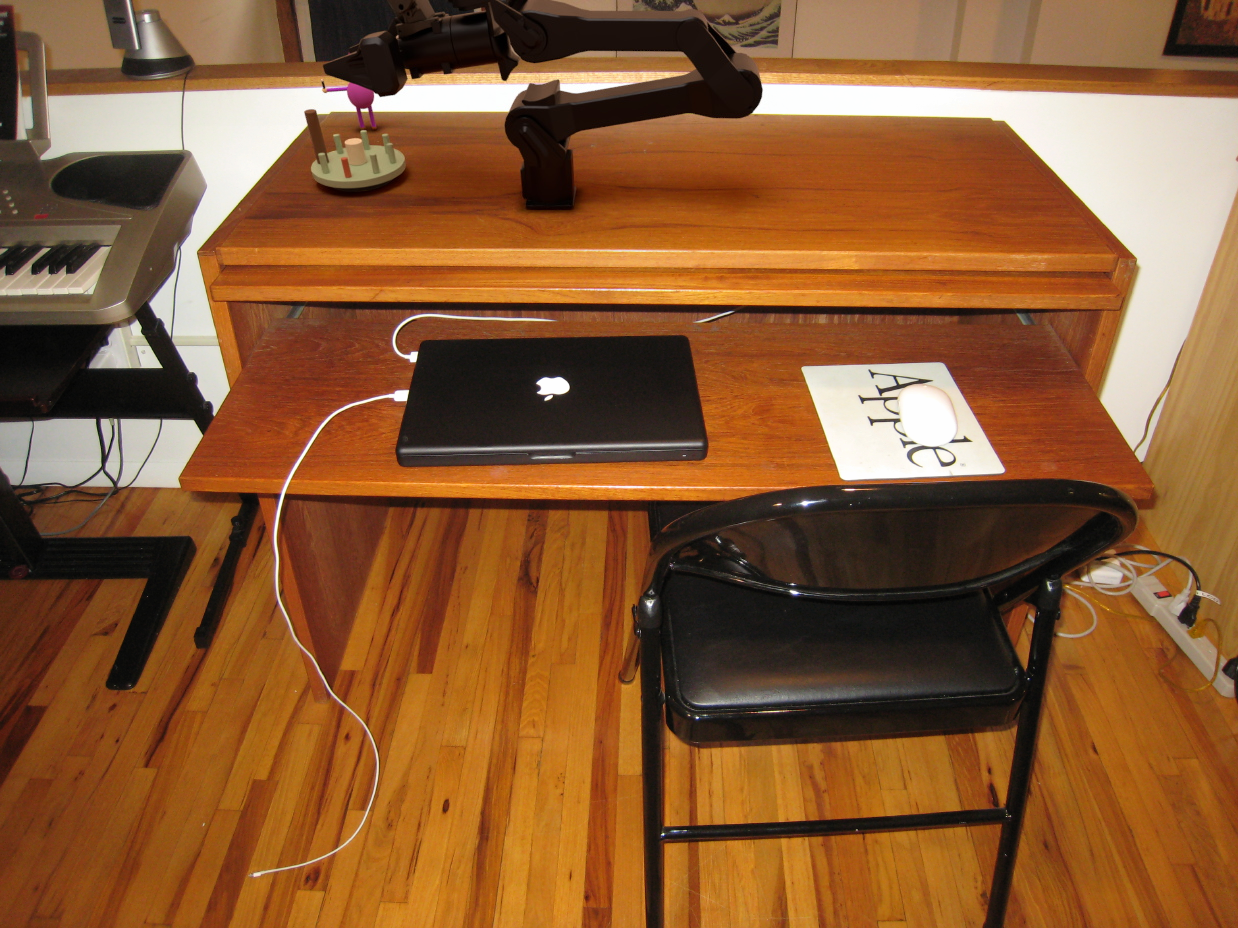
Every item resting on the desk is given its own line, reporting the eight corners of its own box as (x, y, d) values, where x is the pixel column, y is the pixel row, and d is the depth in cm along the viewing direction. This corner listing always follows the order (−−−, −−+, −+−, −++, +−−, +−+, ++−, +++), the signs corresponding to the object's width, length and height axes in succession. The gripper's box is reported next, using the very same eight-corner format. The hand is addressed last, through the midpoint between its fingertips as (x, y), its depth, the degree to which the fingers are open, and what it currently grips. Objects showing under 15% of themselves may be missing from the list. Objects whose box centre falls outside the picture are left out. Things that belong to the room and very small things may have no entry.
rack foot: (400, 166, 121) (398, 159, 120) (385, 192, 114) (383, 184, 113) (339, 166, 121) (338, 159, 120) (321, 192, 114) (319, 184, 113)
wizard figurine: (403, 125, 133) (389, 45, 125) (403, 132, 131) (388, 51, 123) (333, 130, 132) (313, 50, 124) (331, 137, 130) (311, 56, 122)
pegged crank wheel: (414, 152, 121) (404, 95, 116) (394, 188, 111) (382, 128, 106) (328, 152, 121) (313, 95, 116) (300, 188, 112) (283, 128, 106)
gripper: (458, -44, 101) (340, -24, 103) (418, -23, 86) (281, 0, 89) (480, 53, 108) (369, 70, 110) (446, 88, 93) (319, 107, 95)
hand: (337, 61), depth 101 cm, fingers open, 9 cm apart
